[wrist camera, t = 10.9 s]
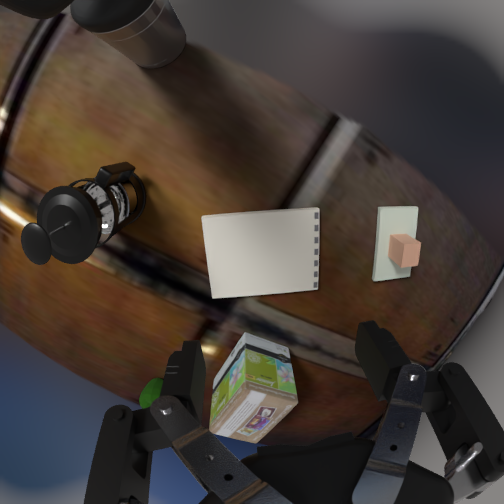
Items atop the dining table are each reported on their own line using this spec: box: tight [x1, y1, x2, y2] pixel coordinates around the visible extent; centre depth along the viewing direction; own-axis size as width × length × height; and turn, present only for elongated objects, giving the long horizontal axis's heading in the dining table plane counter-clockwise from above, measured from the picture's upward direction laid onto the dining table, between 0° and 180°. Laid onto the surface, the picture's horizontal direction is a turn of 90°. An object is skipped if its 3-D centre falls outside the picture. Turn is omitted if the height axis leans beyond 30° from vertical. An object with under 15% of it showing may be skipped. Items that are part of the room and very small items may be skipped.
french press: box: [21, 162, 146, 265], centre depth 31 cm, size 12×9×23 cm
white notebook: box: [202, 207, 319, 298], centre depth 46 cm, size 18×14×1 cm
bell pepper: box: [139, 378, 163, 409], centre depth 52 cm, size 8×8×10 cm
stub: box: [372, 206, 421, 281], centre depth 44 cm, size 8×13×6 cm, turn 4°
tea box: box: [209, 332, 298, 443], centre depth 48 cm, size 15×10×15 cm, turn 153°
